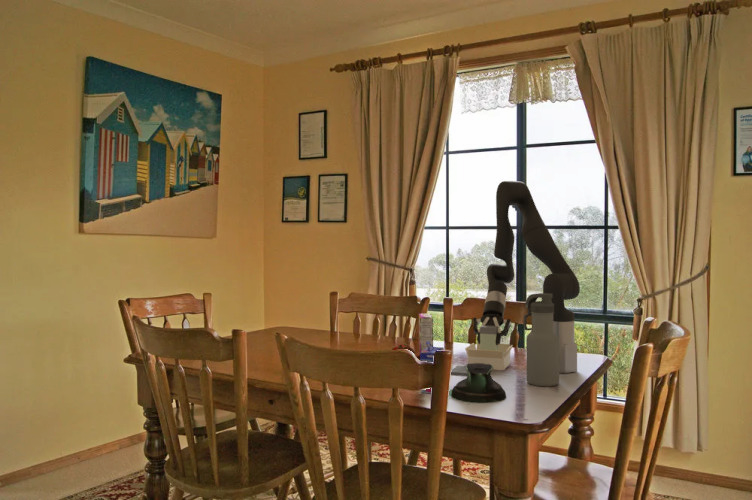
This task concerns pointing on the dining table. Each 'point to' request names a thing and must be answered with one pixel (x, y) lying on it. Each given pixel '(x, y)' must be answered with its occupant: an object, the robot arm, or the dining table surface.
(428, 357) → the ink cartridge box
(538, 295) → the water bottle
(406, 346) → the dragon fruit
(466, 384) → the dark green flared pedestal
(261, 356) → the dining table surface
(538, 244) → the robot arm
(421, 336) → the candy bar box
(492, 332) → the sage box
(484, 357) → the cream storage bin
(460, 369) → the felt mat
